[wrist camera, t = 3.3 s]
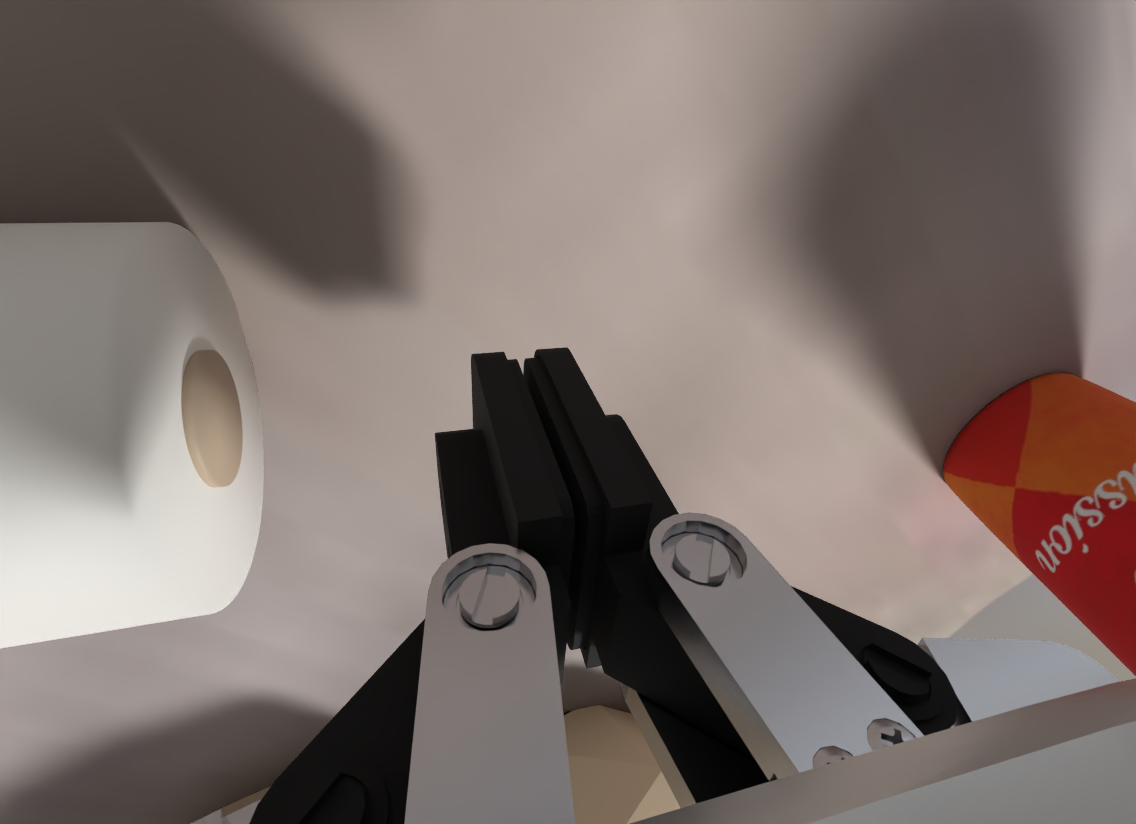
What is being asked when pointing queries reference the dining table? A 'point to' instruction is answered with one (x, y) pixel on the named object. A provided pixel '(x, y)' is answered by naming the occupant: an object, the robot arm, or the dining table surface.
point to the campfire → (598, 770)
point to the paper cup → (1060, 494)
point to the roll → (121, 431)
